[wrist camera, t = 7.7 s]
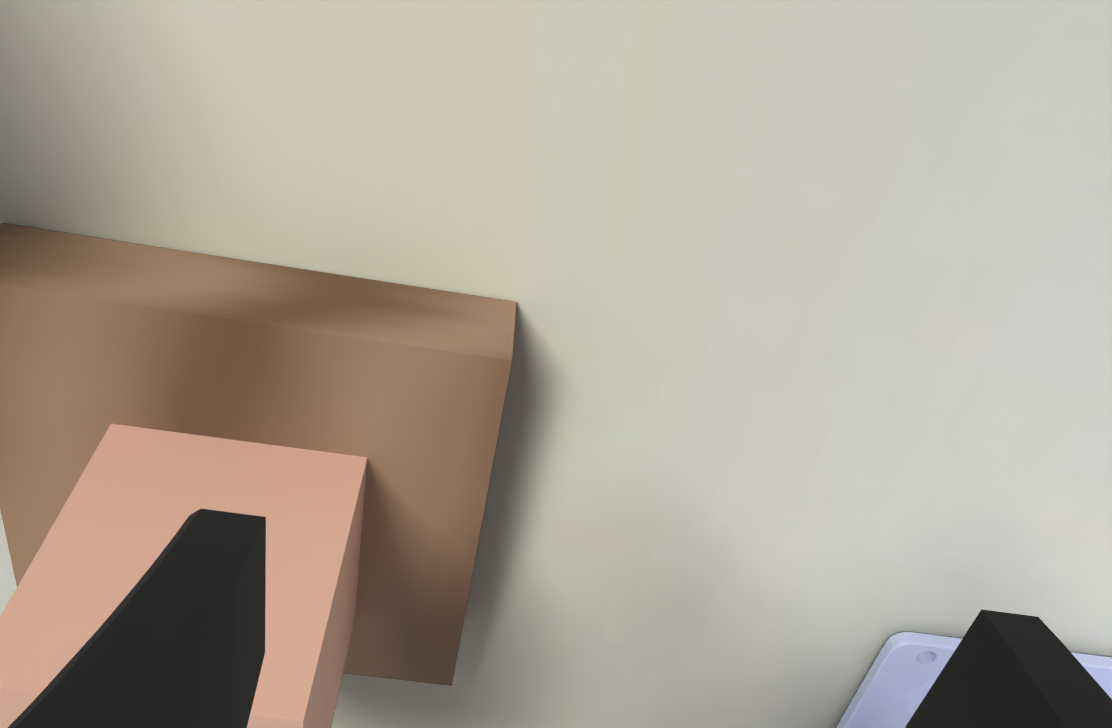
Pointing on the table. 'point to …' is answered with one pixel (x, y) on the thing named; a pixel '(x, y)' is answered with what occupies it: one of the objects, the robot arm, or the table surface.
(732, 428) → the table surface
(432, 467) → the board
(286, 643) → the block
